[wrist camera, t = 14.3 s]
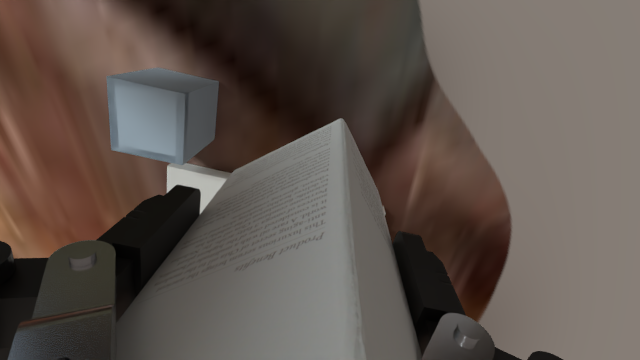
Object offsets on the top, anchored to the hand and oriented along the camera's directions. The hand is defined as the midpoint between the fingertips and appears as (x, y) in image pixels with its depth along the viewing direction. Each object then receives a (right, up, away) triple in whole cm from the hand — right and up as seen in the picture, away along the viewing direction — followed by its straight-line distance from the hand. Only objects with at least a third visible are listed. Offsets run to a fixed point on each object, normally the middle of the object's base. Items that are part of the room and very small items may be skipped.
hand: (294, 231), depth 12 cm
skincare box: (0, +2, +4) cm, 5 cm away
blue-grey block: (-12, +9, +19) cm, 24 cm away
